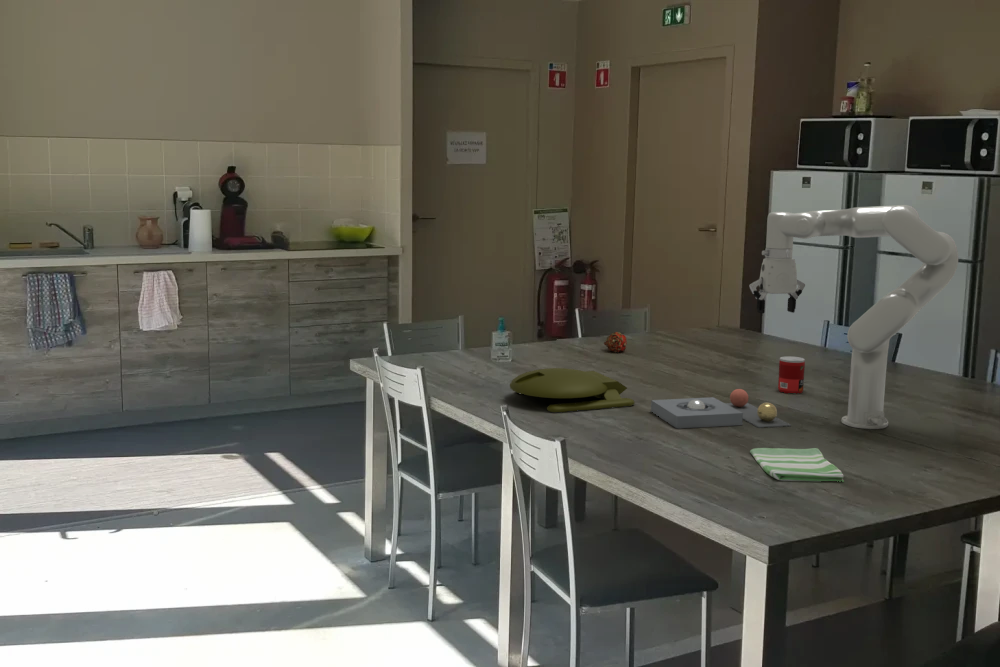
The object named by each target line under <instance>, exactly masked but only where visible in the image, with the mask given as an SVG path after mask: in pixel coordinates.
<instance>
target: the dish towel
mask: <svg viewBox="0 0 1000 667" xmlns="http://www.w3.org/2000/svg"><path fill="white" fill-rule="evenodd" d="M749 453H750V454H751V455H752V457H753V458H754V459H755V461H756V463H757V464H758V465H759V466H760V467H761V469H762V470H763V472H766V474H767V475H768V476H770V477H772V478H774V479H775V480H777V481H784V482H788V481H789V482H790V481H791V482H821V481H837V482H836V483H844V482H845V480H844V479H843V478H844V474H843V473H842V470H840V469H839V468H838V467H837V466H836V465H834V464H833V463H831V462H829V460H828V459H826V458H824V454H823V453H822V452H821V451H820V449H819V448H818V447H816V448H815V447H813V448H781V447H778V448H773V447H772V448H771V447H770V448H769V447H755V448H752V449H750V451H749ZM838 481H839V482H838ZM841 481H842V482H841Z"/></svg>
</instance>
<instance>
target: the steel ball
mask: <svg viewBox="0 0 1000 667" xmlns="http://www.w3.org/2000/svg"><path fill="white" fill-rule="evenodd" d="M687 408H689V409H706V407H705V405H704V403H703V402H702V401H700V400H692V401H690V402H689V403H688V405H687Z"/></svg>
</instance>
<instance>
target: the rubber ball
mask: <svg viewBox="0 0 1000 667" xmlns="http://www.w3.org/2000/svg"><path fill="white" fill-rule="evenodd" d="M729 401H730V403H732V404H733V405H734V406H736V407H742V406H744V405H746V404H747V403H749V394H748V393H747V391H746V390H744V389H742V388H736V389H734V390H732V392H731V393H730V395H729Z"/></svg>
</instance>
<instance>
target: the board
mask: <svg viewBox="0 0 1000 667" xmlns="http://www.w3.org/2000/svg"><path fill="white" fill-rule="evenodd" d="M692 400H700V401H702V402H703V403H704V405H705V407H706V409H689V408H687V405H688V403H689V402H690V401H692ZM725 403H726V402H723V401H721V400H720V399H718V398H715V397H713V396H712V397H691V398H690V397H689V398H672V399H671V398H669V399H667V398H666V399H652V400H650V412H651V413H652V412H653V413H652V414H654V415H655V414H656V415H655V416H657V417H658V416H659V417H658V418H660V419H662V421H664V422H666V423H667V422H668V424H669V425H670V426H672V427H674V428H675V429H691V428H692V429H693V428H712V427H727V426H728V427H730V426H743V413H742V412H740V411H738V410H736V409H735V408H733V407H731V406H729V405H727V404H725Z"/></svg>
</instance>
